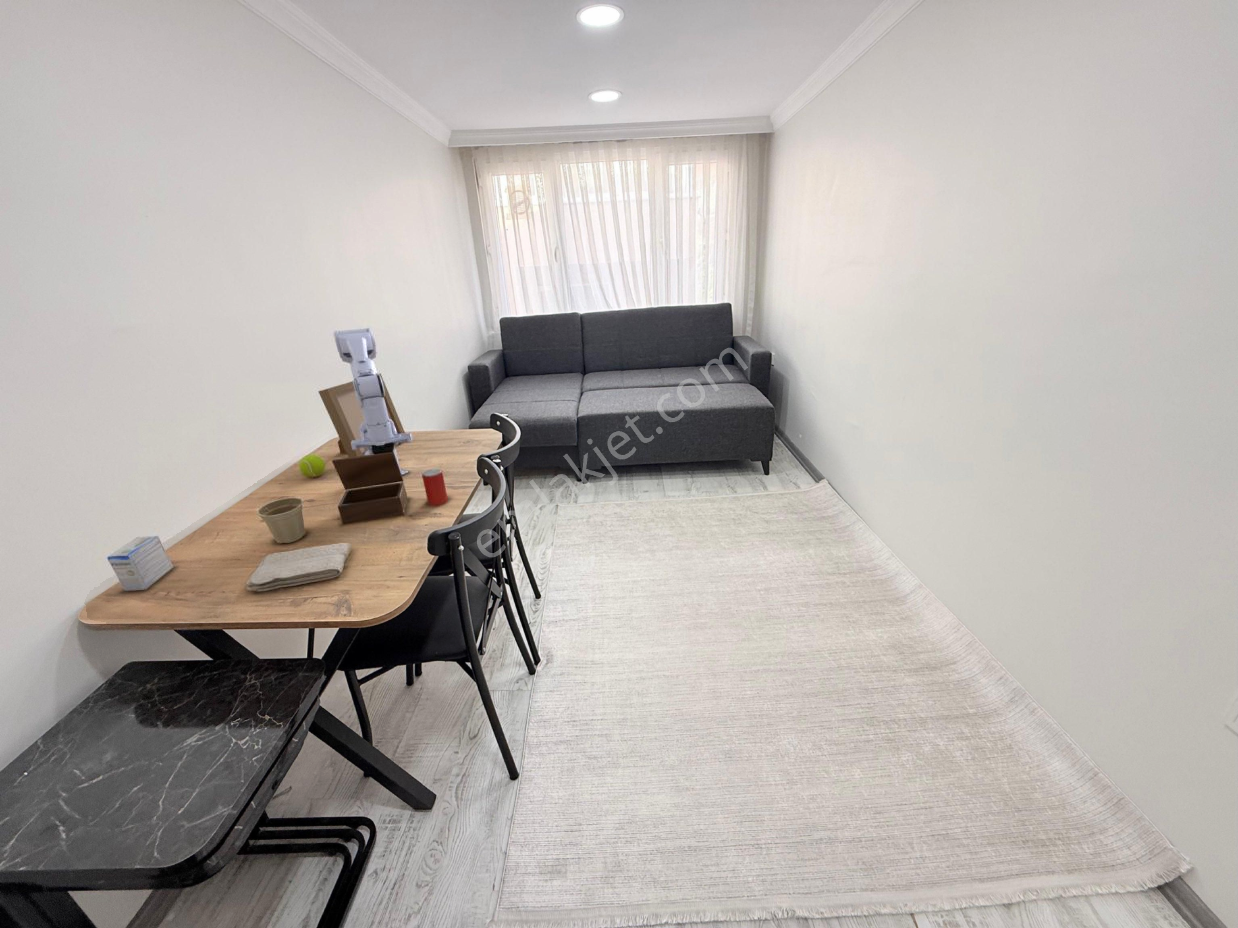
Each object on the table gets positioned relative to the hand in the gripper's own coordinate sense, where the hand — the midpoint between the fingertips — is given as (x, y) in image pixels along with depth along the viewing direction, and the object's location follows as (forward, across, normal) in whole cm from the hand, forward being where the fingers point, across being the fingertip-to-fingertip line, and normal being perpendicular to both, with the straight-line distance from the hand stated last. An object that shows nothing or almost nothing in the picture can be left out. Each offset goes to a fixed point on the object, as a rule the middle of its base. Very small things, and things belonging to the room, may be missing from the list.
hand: (389, 469), depth 133 cm
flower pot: (+10, -23, -12) cm, 27 cm away
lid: (-1, -4, -2) cm, 5 cm away
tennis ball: (+10, -27, +28) cm, 40 cm away
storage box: (+9, -4, -5) cm, 11 cm away
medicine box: (+10, -48, -21) cm, 53 cm away
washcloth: (+10, -16, -29) cm, 34 cm away
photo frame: (+10, -14, +46) cm, 49 cm away
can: (+9, +11, -4) cm, 15 cm away
